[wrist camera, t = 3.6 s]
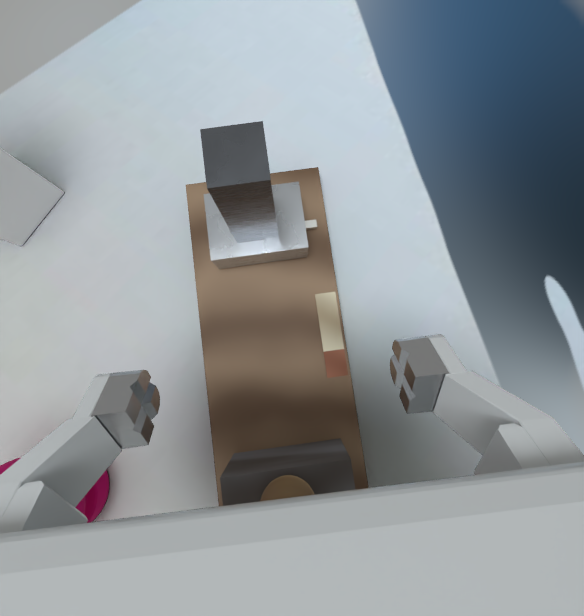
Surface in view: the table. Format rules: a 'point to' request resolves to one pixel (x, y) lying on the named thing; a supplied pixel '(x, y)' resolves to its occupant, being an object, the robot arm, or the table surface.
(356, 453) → the base
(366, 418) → the table surface
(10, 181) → the milk
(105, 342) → the table surface
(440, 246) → the table surface
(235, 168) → the handle
